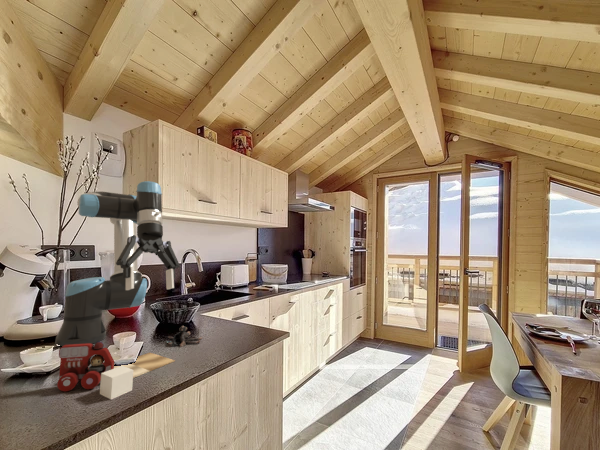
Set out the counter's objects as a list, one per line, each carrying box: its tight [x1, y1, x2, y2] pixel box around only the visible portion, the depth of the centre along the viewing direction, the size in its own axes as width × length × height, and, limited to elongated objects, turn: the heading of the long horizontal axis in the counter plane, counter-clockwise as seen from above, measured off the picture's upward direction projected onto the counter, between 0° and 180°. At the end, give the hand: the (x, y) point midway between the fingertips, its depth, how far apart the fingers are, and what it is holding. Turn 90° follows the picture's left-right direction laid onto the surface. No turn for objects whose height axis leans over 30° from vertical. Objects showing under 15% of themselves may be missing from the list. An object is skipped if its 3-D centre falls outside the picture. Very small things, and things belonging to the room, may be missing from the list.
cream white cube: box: [99, 366, 134, 400], centre depth 69 cm, size 5×5×5 cm
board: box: [114, 352, 176, 379], centre depth 83 cm, size 13×17×1 cm
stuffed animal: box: [166, 325, 203, 348], centre depth 106 cm, size 12×10×12 cm
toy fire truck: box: [57, 341, 115, 392], centre depth 72 cm, size 7×12×10 cm, turn 103°
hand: (151, 289), depth 86 cm, fingers open, 13 cm apart
